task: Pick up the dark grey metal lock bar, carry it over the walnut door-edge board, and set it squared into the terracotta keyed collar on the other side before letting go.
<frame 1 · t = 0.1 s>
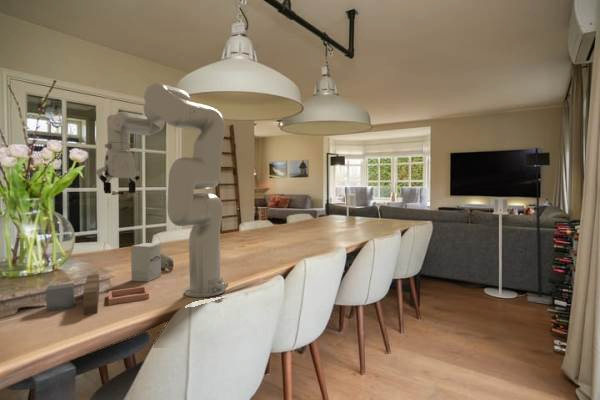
hand: (120, 193, 130), 31 cm above the table, fingers open, 9 cm apart
decorative bird: (160, 269, 138), on the table
supplement box: (146, 279, 124), on the table
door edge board: (92, 302, 99), on the table
key collar: (128, 297, 103), on the table
lock bar: (61, 307, 95), on the table
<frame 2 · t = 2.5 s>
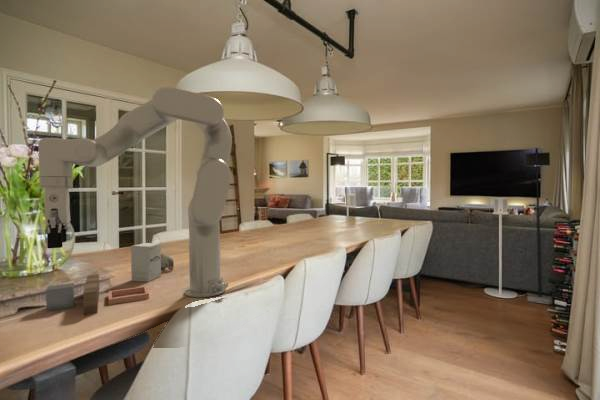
hand: (57, 244, 94), 18 cm above the table, fingers open, 9 cm apart
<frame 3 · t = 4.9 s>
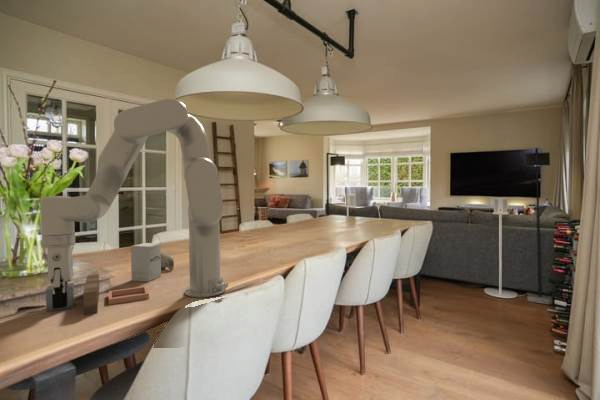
hand: (61, 304, 95), 1 cm above the table, fingers closed on lock bar, 4 cm apart
lock bar: (61, 307, 95), on the table, touching gripper
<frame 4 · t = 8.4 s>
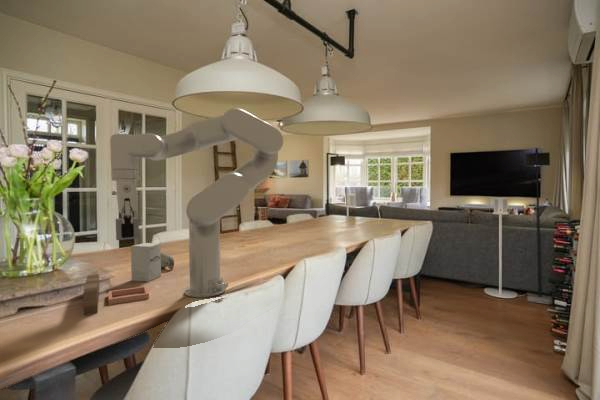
hand: (127, 235, 102), 19 cm above the table, fingers closed on lock bar, 4 cm apart
lock bar: (127, 238, 102), point 18 cm above the table, touching gripper
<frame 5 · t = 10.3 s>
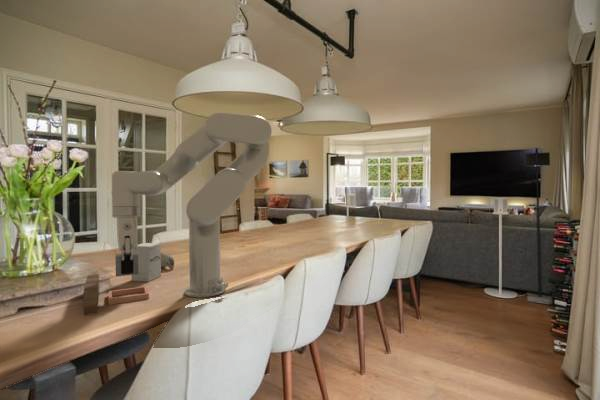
hand: (127, 271, 103), 8 cm above the table, fingers closed on lock bar, 4 cm apart
lock bar: (126, 273, 103), point 7 cm above the table, touching gripper
when the fingers open (3 cm above the table, at t = 12.1 s): lock bar drops 2 cm, resting in key collar.
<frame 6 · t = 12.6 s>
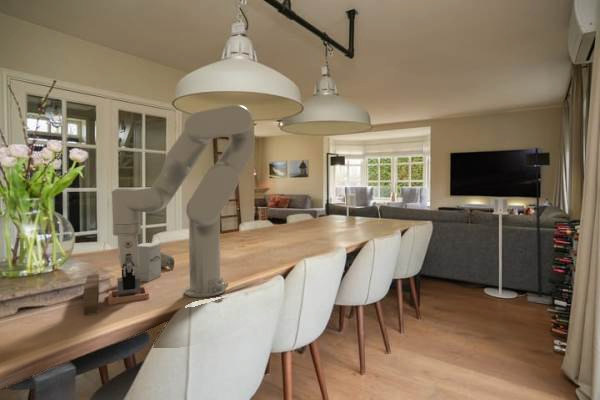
hand: (128, 285, 103), 4 cm above the table, fingers open, 9 cm apart
lock bar: (129, 297, 103), resting in key collar
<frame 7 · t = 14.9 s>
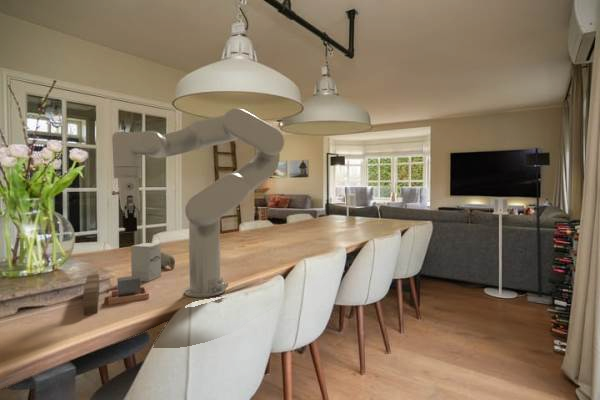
hand: (129, 229, 103), 21 cm above the table, fingers open, 9 cm apart
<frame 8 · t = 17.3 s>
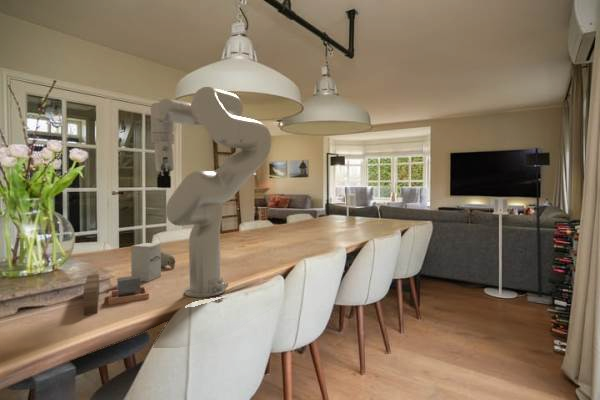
hand: (163, 187, 120), 33 cm above the table, fingers open, 9 cm apart
at the end: lock bar 0.2 cm off-centre on the key collar, point 0.0 cm above the key collar's base; lock bar tilted 0°; the gripper is holding nothing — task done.
